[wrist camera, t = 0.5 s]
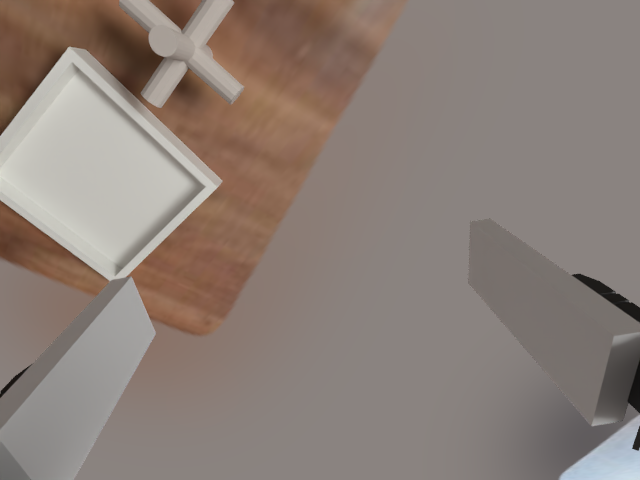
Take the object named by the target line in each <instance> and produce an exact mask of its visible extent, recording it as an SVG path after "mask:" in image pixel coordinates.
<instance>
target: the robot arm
mask: <svg viewBox="0 0 640 480" xmlns="http://www.w3.org/2000/svg"><path fill="white" fill-rule="evenodd" d="M468 283H469V284H470V286H471V287H472V288H473V289H474V290H475V291H476V293H477V294H478V295H479V296H480V297H481V298H482V300H483V301H484V302H485V303H486V304H487V305H488V306H489V308H490V309H491V310H492V311H493V312H494V314H496V316H497V317H498V318H499V319H500V320H501V322H502V323H503V324H504V325H505V326H506V327H507V328H508V330H509V331H510V332H511V333H512V334H513V335H514V337H515V338H516V339H517V340H518V341H519V343H520V344H521V345H522V346H523V347H524V348H525V349H526V351H527V352H528V353H529V354H530V355H531V356H532V358H533V359H534V360H535V361H536V362H537V363H538V365H539V366H540V367H541V368H542V369H543V370H544V371H545V373H546V374H547V375H548V376H549V377H550V379H551V380H552V381H553V382H554V383H555V384H556V386H558V388H559V389H560V390H561V391H562V392H563V394H564V395H565V396H566V397H567V398H568V399H569V401H570V402H571V403H572V404H573V405H574V406H575V408H576V409H577V410H578V411H579V412H580V413H581V415H582V416H583V417H584V418H585V419H586V420H587V422H588V423H589V424H590V425H591V426H595V425H602V424H608V423H614V422H619V421H623V419H624V416H625V413H626V409H627V406H628V403H630V404H631V405H632V406H633V407H634V408H635V409H636V410H637V411H638V412H639V413H640V308H639V307H638V306H637V305H635V304H634V303H629V300H627V299H626V298H624V297H623V296H621V295H620V294H616V293H615V291H613V290H612V289H611V288H609V287H607V286H606V285H604V284H603V283H601V282H600V281H597V280H595V279H592V278H589V277H587V276H584V275H581V274H574V275H570V274H569V273H568V272H566V271H565V270H563V269H562V268H560V267H559V266H557V265H556V264H554V263H553V262H552V261H550V260H549V259H547V258H546V257H545V256H543V255H542V254H540V253H539V252H537V251H536V250H534V249H533V248H532V247H530V246H529V245H527V244H526V243H525V242H523V241H522V240H520V239H519V238H517V237H516V236H514V235H513V234H512V233H510V232H509V231H507V230H506V229H504V228H503V227H502V226H500V225H499V224H497V223H496V222H494V221H493V220H491V219H484V220H478V221H472V222H470V246H469V279H468ZM155 334H156V332H155V330H154V328H153V325H152V323H151V321H150V319H149V316H148V314H147V312H146V309H145V307H144V305H143V302H142V300H141V298H140V295H139V293H138V291H137V288H136V286H135V284H134V281H133V279H132V277H126V278H120V279H113V280H111V281H110V282H109V283H108V284H107V285H106V286H105V287H104V289H103V290H102V291H101V292H100V293H99V294H98V295H97V296H96V297H95V298H94V299H93V300H92V301H91V302H90V303H89V305H88V306H87V307H86V308H85V309H84V310H83V311H82V312H81V313H80V314H79V315H78V316H77V317H76V318H75V319H74V320H73V321H72V323H71V324H70V325H69V326H68V327H67V328H66V329H65V330H64V331H63V332H62V333H61V334H60V335H59V336H58V337H57V338H56V340H55V341H54V342H53V343H52V344H51V345H50V346H49V347H48V348H47V349H46V350H45V351H44V352H43V353H42V354H41V355H40V357H39V358H38V359H37V360H36V361H35V362H34V363H33V364H31V365H30V366H29V367H27V368H26V369H24V370H23V371H22V372H20V373H19V374H18V375H16V376H15V377H14V378H13V379H12V380H11V381H10V382H9V383H8V384H7V385H6V386H5V387H4V388H3V389H2V390H1V394H0V480H74V478H75V476H76V475H77V473H78V471H79V469H80V467H81V466H82V464H83V462H84V460H85V458H86V457H87V455H88V453H89V451H90V450H91V448H92V446H93V444H94V443H95V441H96V439H97V437H98V435H99V433H100V432H101V430H102V428H103V427H104V424H105V423H106V421H107V419H108V418H109V416H110V414H111V412H112V411H113V409H114V407H115V405H116V403H117V402H118V400H119V398H120V396H121V395H122V393H123V391H124V389H125V387H126V386H127V384H128V382H129V380H130V379H131V377H132V375H133V373H134V371H135V370H136V368H137V366H138V364H139V363H140V361H141V359H142V357H143V355H144V354H145V352H146V350H147V348H148V346H149V345H150V343H151V341H152V339H153V338H154V336H155ZM639 448H640V426H639V429H638V432H637V435H636V438H635V441H634V444H633V448H632V449H635V450H638V451H639Z"/></svg>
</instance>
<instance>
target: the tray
mask: <svg viewBox="0 0 640 480" xmlns="http://www.w3.org/2000/svg"><path fill="white" fill-rule="evenodd" d="M222 182H223V181H222V180H221V179H220V178H219V177H218V176H217V175H216V174H215V173H214V172H213V171H212V170H211V169H210V168H209V167H208V166H207V165H206V164H205V163H203V162H202V161H201V160H200V159H199V158H198V157H197V156H196V155H195V154H194V153H193V152H192V151H191V150H190V149H189V148H188V147H187V146H186V145H185V144H184V143H183V142H182V141H181V140H180V139H178V138H177V137H176V136H175V135H174V134H173V133H172V132H171V131H170V130H169V129H168V128H167V127H166V126H165V125H164V124H163V123H162V122H161V121H160V120H159V119H158V118H157V117H156V116H155V115H153V114H152V113H151V112H150V111H149V110H148V109H147V108H146V107H145V106H144V105H143V104H142V103H141V102H140V101H139V100H138V99H137V98H136V97H135V96H134V95H133V94H132V93H131V92H130V91H129V90H127V89H126V88H125V87H124V86H123V85H122V84H121V83H120V82H119V81H118V80H117V79H116V78H115V77H114V76H113V75H112V74H111V73H110V72H109V71H108V70H107V69H106V68H105V67H104V66H102V65H101V64H100V63H99V62H98V61H97V60H96V59H95V58H94V57H93V56H92V55H91V54H90V53H89V52H88V51H87V50H85V49H79V48H74V47H69V48H68V49H67V50H66V51H65V53H64V54H63V55H62V57H61V58H60V59H59V61H58V62H57V63H56V64H55V66H54V67H53V68H52V70H51V71H50V72H49V74H48V75H47V76H46V77H45V79H44V80H43V81H42V83H41V84H40V85H39V87H38V88H37V89H36V90H35V92H34V93H33V94H32V96H31V97H30V98H29V100H28V101H27V102H26V103H25V105H24V106H23V107H22V109H21V110H20V111H19V113H18V114H17V115H16V116H15V118H14V119H13V120H12V122H11V123H10V124H9V126H8V127H7V128H6V129H5V131H4V132H3V133H2V135H1V136H0V200H1V201H2V202H3V203H5V204H6V205H8V206H9V207H10V208H12V209H13V210H14V211H16V212H17V213H18V214H20V215H21V216H23V217H24V218H25V219H27V220H28V221H29V222H31V223H32V224H33V225H35V226H36V227H37V228H39V229H40V230H42V231H43V232H44V233H46V234H47V235H48V236H50V237H51V238H52V239H54V240H55V241H56V242H58V243H59V244H61V245H62V246H63V247H65V248H66V249H67V250H69V251H70V252H71V253H73V254H74V255H75V256H77V257H78V258H80V259H81V260H82V261H84V262H85V263H86V264H88V265H89V266H90V267H92V268H93V269H95V270H96V271H97V272H99V273H100V274H101V275H103V276H104V277H105V278H107V279H108V280H109V281H111V280H113V279H120V278H125V277H126V276H127V275H128V274H129V273H130V272H131V271H132V270H133V269H134V268H135V267H136V266H137V265H139V264H140V263H141V262H142V261H143V260H144V259H145V258H146V257H147V256H148V255H149V254H150V253H151V252H152V251H153V250H154V249H155V248H156V247H157V246H158V245H159V244H160V243H161V242H162V241H163V240H164V239H165V238H166V237H167V236H168V235H169V234H170V233H171V232H172V231H173V230H174V229H175V228H176V227H177V226H178V225H179V224H180V223H182V222H183V221H184V220H185V219H186V218H187V217H188V216H189V215H190V214H191V213H192V212H193V211H194V210H195V209H196V208H197V207H198V206H199V205H200V204H201V203H202V202H203V201H204V200H205V199H206V198H207V197H208V196H209V195H210V194H211V193H212V192H213V191H214V190H215V189H216V188H217V187H218V186H219V185H220V184H221V183H222Z"/></svg>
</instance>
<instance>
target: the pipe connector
mask: <svg viewBox="0 0 640 480" xmlns="http://www.w3.org/2000/svg"><path fill="white" fill-rule="evenodd" d="M233 4H234V2H233V1H232V0H202V2H201V3H200V5H199V6H198V8H197V9H196V11H195V12H194V14H193V15H192V17H191V18H190V20H189V21H188V23H187V24H186V26H185V27H184V29H183V30H181V29H180V28H179V27H178V26H177V25H175V24H174V23H173V22H172V21H171V20H170V19H169V18H168V17H167V16H166V15H165V14H163V13H162V12H161V11H160V10H159V9H158V8H157V7H156V6H155V5H154V4H152V3H151V2H150V1H149V0H119V6H120V7H121V9H122V10H124V11H125V12H126V13H127V14H128V15H129V16H130V17H132V18H133V19H134V20H135V21H136V22H137V23H138V24H139V25H141V26H142V27H143V28H144V29H145V30H146V31H147V32H149V43H150V46H151V48H152V50H153V51H154V52H155V53H157V54H158V55H160V56H163V57H164V59H163V60H162V62H161V63H160V65H159V66H158V68H157V69H156V71H155V72H154V74H153V75H152V77H151V78H150V80H149V81H148V83H147V84H146V86H145V87H144V89H143V90H142V92H141V95H142V96H143V97H144V98H145V99H146V100H147V101H148V102H150V103H151V104H153V105H155V106H156V107H159V108H161V107H162V106H163V105H164V103H165V102H166V100H167V99H168V97H169V96H170V95H171V93H172V92H173V90H174V89H175V87H176V86H177V84H178V83H179V82H180V80H181V79H182V77H183V76H184V74H185V73H186V72H187V70H188V69H191V70H192V71H193V72H194V73H195V74H196V75H197V76H199V77H200V78H201V79H202V80H203V81H204V82H205V83H206V84H208V85H209V86H210V87H211V88H212V89H213V90H214V91H216V92H217V93H218V94H219V95H220V96H221V97H222V98H224V99H225V100H226V101H227V102H228V103H229V104H230V105H231V104H232V103H233V102H234V101H235V100H236V99H237V98H238V96H239V95H240V94H241V92H242V91H243V89H244V87H243V86H242V85H241V84H240V83H239V82H238V81H237V80H236V79H235V78H234V77H233V76H231V75H230V74H229V73H228V72H227V71H226V70H225V69H224V68H223V67H222V66H220V65H219V64H218V63H217V62H216V61H215V60H214V59H213V54H212V51H211V49H210V48H209V46H207V45H206V43H207V41H208V40H209V39H210V37H211V36H212V34H213V33H214V31H215V30H216V29H217V27H218V26H219V24H220V23H221V21H222V20H223V18H224V17H225V16H226V14H227V13H228V11H229V10H230V8H231V7H232V6H233Z"/></svg>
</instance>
